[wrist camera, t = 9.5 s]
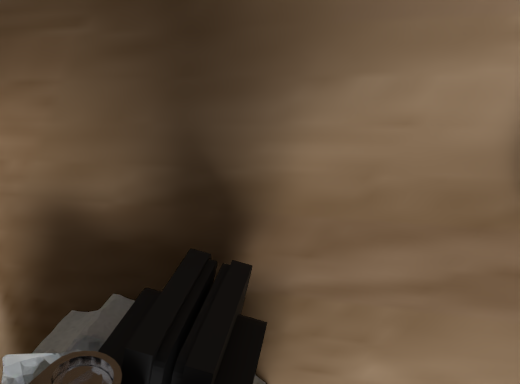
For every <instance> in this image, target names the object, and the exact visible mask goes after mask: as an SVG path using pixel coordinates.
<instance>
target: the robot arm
mask: <svg viewBox="0 0 520 384" xmlns="http://www.w3.org/2000/svg"><path fill="white" fill-rule="evenodd" d="M216 268H217V261H214V260H211V254H209V253H206V252H202V251H198V250H195V249H190V250H189V252H188V253H187V255H186V256H185V258H184V259H183V261H182V262H181V264H180V265H179V267H178V268H177V270H176V271H175V273H174V274H173V276H172V277H171V279H170V280H169V282H168V283H167V285H166V286H165V288H164V289H163V291H162V292H160V291H156V290H153V289H149V288H145V289H144V290H143V291H142V292H141V294H140V295H139V296H138V298H137V299H136V300H135V302H134V303H133V304H132V306H131V307H130V309H129V310H128V311H127V313H126V314H125V315H124V317H123V318H122V319H121V321H120V322H119V323H118V325H117V326H116V327H115V329H114V330H113V332H112V333H111V334H110V336H109V337H108V338H107V340H106V341H105V342H104V344H103V345H102V346H101V348H100V349H99V350H98V352H97V351H85V350H84V351H78V352H72V353H69V354H67V355H64V356H62V357H60V358H59V359H57V360H56V361H54V362H53V363H51V364H50V365H49V366H48V367H47V368H46V369H45V370H43V371H42V372H41V373H40V374H39V375H38V376H37V377H36V378H34V379H33V380H32V381H31V382H30V383H29V384H253V381H254V377H255V372H256V368H257V364H258V360H259V355H260V351H261V347H262V343H263V338H264V334H265V330H266V326H267V322H264V321H261V320H257V319H254V318H250V317H247V316H243V315H241V311H242V307H243V303H244V299H245V295H246V291H247V287H248V283H249V278H250V274H251V270H252V265H249V264H245V263H241V262H238V261H234V260H232V262H231V264H230V265H228V264H224V263H223V264H222V266H221V268H220V270H219V273H218V275H217V277H216V279H215V281H214V277H215V272H216ZM213 282H214V283H213Z"/></svg>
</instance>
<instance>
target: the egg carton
mask: <svg viewBox="0 0 520 384" xmlns="http://www.w3.org/2000/svg"><path fill="white" fill-rule="evenodd" d="M134 302H135V301H134V300H131V299H128V298H125V297H123V296H121V295H117V294H113V295H111V297H110V298H109V299H108V300H107V301H106V302H105V304H104V305H103V306H102V307H101V308H100V309H99V310H97V311H91V312H80V311H74V310H72V311H71V312H70V313H69V314H68V315H66V316H65V317H64V318H63V319H62V320H61V321H60V322H59V323H58V325H57V326H56V327H55V328H54V329H53V331H52V332H51V333H50V334H49V335H48V336H47V337H46V338H45V339H44V340H43V341H42V342H41V343H40V344H39V345H38V347H37V348H36V349H35V350H34V351H33V352H32V354H9V355H6V356H4V357H3V376H2V382H1V384H29V383H30V382H31V381H32V380H33V379H34V378H36V377H37V376H38V375H39V374H40V373H41V372H42V371H43V370H45V369H46V368H47V367H48V366H49V365H50V364H51V363H53V362H54V361H56V360H57V359H59V358H60V357H62V356H64V355H67V354H69V353H72V352H78V351H84V350H85V351H97V352H98V350H99V349H100V348H101V346H102V345H103V344H104V342H105V341H106V340H107V338H108V337H109V336H110V334H111V333H112V332H113V330H114V329H115V327H116V326H117V325H118V323H119V322H120V321H121V319H122V318H123V317H124V315H125V314H126V313H127V311H128V310H129V309H130V307H131V306H132V304H133V303H134ZM253 384H266V383H265V382H264V381H263V380H261V379H260V378H258V377H257V376H256V374H255V377H254V381H253Z"/></svg>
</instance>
